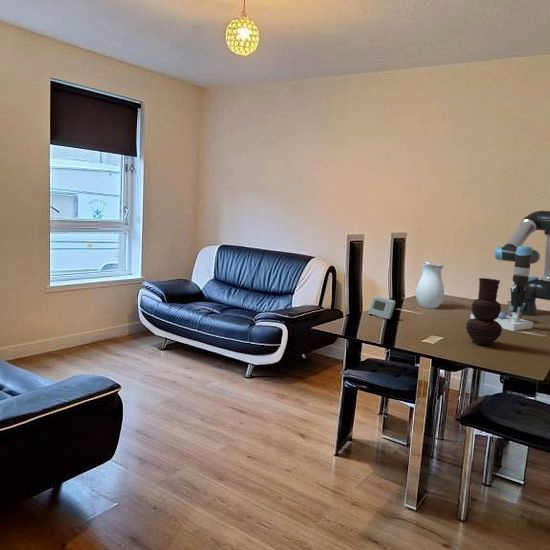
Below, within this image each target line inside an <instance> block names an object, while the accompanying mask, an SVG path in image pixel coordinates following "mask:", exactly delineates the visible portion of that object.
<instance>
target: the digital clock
mask: <svg viewBox="0 0 550 550" xmlns="http://www.w3.org/2000/svg"><path fill="white" fill-rule="evenodd" d="M395 306H396V301H395V300H393V299H390V298H387V297H383V296H378V295H374V296H373V297H372V299H371V303H370V306H369V308H368V312H367V314H368V313H369V314H368V315H370V314H372V315H376V316H379V317H382V318H385V319H384V320H387V319H389V320H391V319H392V318H393V312H394V309H395ZM372 315H371V316H372ZM379 317H378V318H379ZM391 317H392V318H391ZM382 318H381V319H382Z"/></svg>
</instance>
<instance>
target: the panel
mask: <svg viewBox="0 0 550 550" xmlns="http://www.w3.org/2000/svg"><path fill="white" fill-rule="evenodd" d="M474 318H475V317H474V315H473V313H470V318H469V319H474ZM510 318H512V317H510V316H508V315H507V316H506V319H500V318H497V319H495V321H497V322H498V323H499V324H500V325H501V326H502V328H501V329H504V330H508V331H513V332H514V331H515V332H516V331H522V330H528V329H529V330H530V329H533V327H534V321H531V320H526V319H523V318H522V319H520V322H518V323H516V322H512V321H510Z"/></svg>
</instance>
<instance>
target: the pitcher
mask: <svg viewBox="0 0 550 550" xmlns="http://www.w3.org/2000/svg"><path fill="white" fill-rule="evenodd" d="M444 266H445V264H442V265H436V264H432V263H431V262H429V261H425V262H424V263H423V264H422V268H421V271H422V272H421V273H422V275H421V277H420V279H419V281H418V283H417V286H416V290H415V297H416V301H417V303H418V306H419V307H422V308H425V309H438V308H439V307H440V305H441V304H442V302H443V300H444V296H445V287H444V282H443V279H442V269H443V268H444Z"/></svg>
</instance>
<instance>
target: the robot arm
mask: <svg viewBox="0 0 550 550" xmlns="http://www.w3.org/2000/svg"><path fill="white" fill-rule="evenodd" d="M535 231H544V233H543V234H544V236H546V243H545V256H544V267H543V268H544V270H543V275H542V276H541V277H540V279H539V276H530V270H531V264H532V265H533V264H536V263H538V262H539V261H540V258H541V254H540V252H539V251H538V250H536V249H533V247H532V246H526V245H523V244H524V243H525V242H526V240H527V239H528V238H529V236H530V235H531V234H533V233H534V232H535ZM494 258H495V259H496V260H499V261H505V262H514V267H513V275H512V282H513V287H510V289H509V290H510V301H511V305H512V306H514V308H513V315H512V318H515V319H519V311H520V307H522V306H521V305H523V303H525V306H524V307H523V309H522V313H521V315H525V316H537V314H538V308H537V305H536V303H537V302H536V299H538V300H539V299H540V300H544V301H545V300H546V301H550V210H537V211H534V212H531V213H529V214H528V215H526V216H524V218H522V219H521V221H519V226H518V228H517V229H516V230H515V231H514V233H513V234H512V235H511V236H510V238H509V239H508V240H507V242H506V243H505V244H504V246H497V247H496V248H495V251H494Z"/></svg>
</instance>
